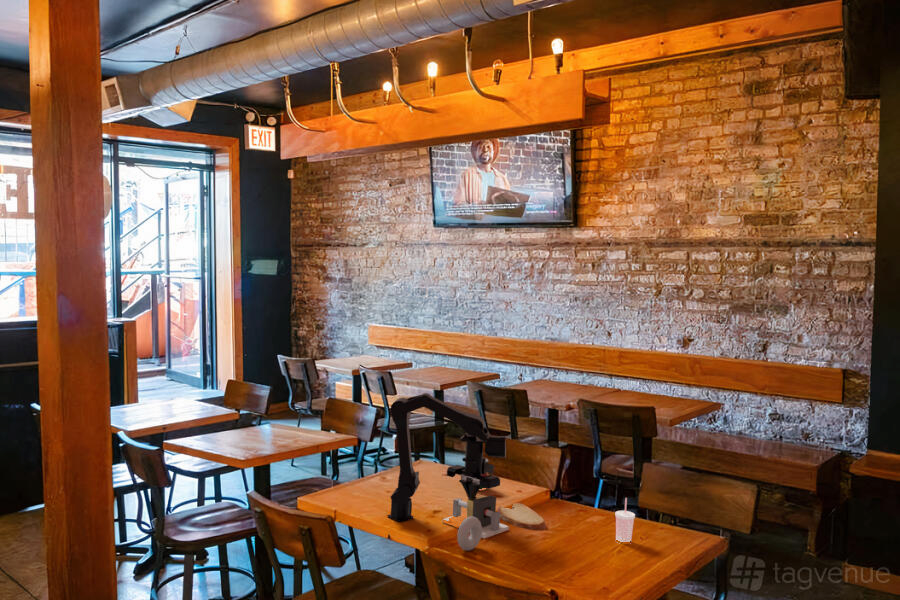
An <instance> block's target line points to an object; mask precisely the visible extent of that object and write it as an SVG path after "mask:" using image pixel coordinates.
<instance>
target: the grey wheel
mask: <svg viewBox="0 0 900 600" xmlns="http://www.w3.org/2000/svg"><path fill="white" fill-rule="evenodd" d="M457 529H458V528H457ZM470 530H471V533H469V532H470ZM456 534H457V535H456V536H457V543H458V546H459V547H460V548H461V549H462V550H463V551H468V552H469V551H472V550H474V549H475V548H477V546H478V545H479V542H480V541H481V536H482V526H481V522H480V521H479V520H478V518H476V517H473V516H471V517H467V518H466V519H464V520H463V522H462V523H461V524H460V526H459V529H458V530H457V533H456Z"/></svg>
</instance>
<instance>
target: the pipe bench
mask: <svg viewBox="0 0 900 600" xmlns="http://www.w3.org/2000/svg"><path fill="white" fill-rule="evenodd" d="M452 502H453V504H452V505H453V506H452V515H451V516H448V517H445V518H443V519H442V521H443V520H446V521H449V518H451V517H453V516H454V517H458V516H461V513H462V508H464V509H467V501H464V500H462V499H461V498H460V497H459V498H454V499H453V501H452ZM484 515H486V516H490V517H491V524H489V525H486V526H484V527H482V536H481V538H482V539H487V538H489V537H493V536H495V535H498V534H500V533H503V532H506V531H509V529H510V528H509V526H508V525H506V524H504V523H501V521H500V520H501V518H500V512H497V510H496V512H493V511H490V510H488V509H484ZM469 534H471V530H470V532H469Z"/></svg>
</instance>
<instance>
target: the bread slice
mask: <svg viewBox="0 0 900 600" xmlns="http://www.w3.org/2000/svg"><path fill="white" fill-rule="evenodd" d="M512 504H513V506H512V509H510V508H503V507H504V506H503V507H502V506H498V508H497V510H498V512H500V520H502V521H504V522H505V523H508V524H510V525H512V526H516V527H518V528H522V529H528V530H535V531H538V530H540V531H541V530H545V529H547V526H546V522H545V519H544V518H543V517H542V516H541V515H540V514H538V513H537V512H536V511H535V510H533V509H532V508H530V507H528V506H527V505H525V504H523V503H522V502H515V503H512Z"/></svg>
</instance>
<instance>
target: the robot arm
mask: <svg viewBox="0 0 900 600" xmlns="http://www.w3.org/2000/svg"><path fill="white" fill-rule="evenodd" d="M422 408H426V409H427V410H430V411H431V412H434V413H435V414H438V415H439V416H441V417H443V418H445V419H447V420H449V421H451V422H453V423H454V424H456V425H457V426H458V427H460V428H461V430H463V431H464V432H465V433H464V434H463V436H461V437H460V439H459V441H460V442H465V457H462V462H464V466H463V465H460V464H456V465H451V466H448V468H447V469H446V476H447V477H450V478H454V477H455V476H456V475H457V476H460V479H459V481H458V482H459V483H461V486H462V488H463V490H464V491H465V493H466V496H467V500H468V499H471V498H474V497H477V495H478V492H479V491H478V490H479V489H480V487H485V488H487V489H493V488H496V487H499V486H500V485H501V478H500V477H499V476H497V475H494V474H493V473H494V468H495V466H496V465H495V464H492V463H489V462H488V463H486V459H487V458H486V459H485V457H484V453H485V454H486V455H487V457H490V458H491V457H492V458H501V459H502V458H503V459H504V458H506V455H507V454H506V453H507V444H506V443H507V441H506V440H507V437H506V436H505V435H499V436H497V435H491V433H490V431H489V430H488V428H487V427H486V422H485V419H484V418H483V417H482V416H481V415H478V414H476V413H475V414H474V413H471V412H466V411H463V410H460V409H458V408H456V407H454V406H452V405H450V404H448V403H447V402H444V401H442V400H440V399H438V398H436V397H434V396H433V395H431V394H430V393H428V392H423V393H421V394H419V395H418V394H417V395H415V396H411V397H409V398H406V397H398V398H397V399H396V400H395V401H394V402H393V403H392V404H391V405H390V415H391V418H392V422H393V424H394V425H395V428H396V440H397V450H398V451H397V452H398V460H399V474H398V480H397V487H396V488H395V490H394V491H393V492H392V494H391V495H390V502H391V503H390V514H388V515H387V518H389V519H391V520H394V521H397V522H399V523H402V522H405V521H404V520H406V521H408V520H407V519H409V520H411V519H410V518H412V519H414V518H415V516H414V515H412V509H413V508H412V506H413V502H412V497H413V496H414V495H415V494H416V492H417V490H418V487H419V485H420V484H421V481H420V477H419V476H420V475H419V474H420V471H419V470H418V471H415V469H414V466H413V459H412V458H413V456H412V448H411V447H412V446H411V434H410V421H411V420H410V419H411V413H412V412H414V411H416V410H419V409H422ZM484 444H485V445H484ZM486 472H487V473H488V475H487V476H482V474H486ZM413 517H414V518H413ZM401 521H402V522H401Z"/></svg>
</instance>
